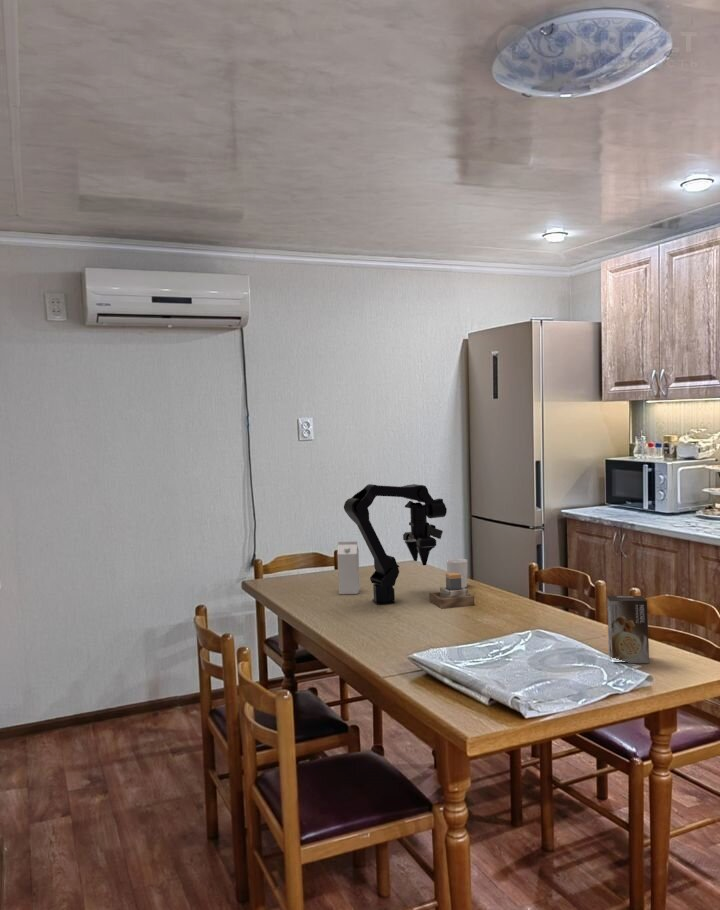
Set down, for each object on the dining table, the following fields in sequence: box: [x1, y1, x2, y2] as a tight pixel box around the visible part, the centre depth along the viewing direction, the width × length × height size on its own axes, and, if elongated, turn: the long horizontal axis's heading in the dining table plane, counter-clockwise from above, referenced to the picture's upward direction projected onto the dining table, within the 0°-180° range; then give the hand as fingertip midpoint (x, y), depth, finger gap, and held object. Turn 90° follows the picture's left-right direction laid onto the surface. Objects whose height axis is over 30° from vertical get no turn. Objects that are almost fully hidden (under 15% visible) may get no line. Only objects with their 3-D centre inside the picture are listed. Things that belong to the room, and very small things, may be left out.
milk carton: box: [337, 540, 361, 595], centre depth 284 cm, size 7×7×19 cm
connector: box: [445, 572, 462, 591], centre depth 262 cm, size 4×4×8 cm
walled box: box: [428, 586, 475, 609], centre depth 262 cm, size 12×11×5 cm
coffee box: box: [606, 594, 650, 664], centre depth 195 cm, size 9×6×16 cm
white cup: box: [446, 558, 468, 589], centre depth 287 cm, size 8×8×10 cm
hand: (420, 563), depth 273 cm, fingers open, 9 cm apart
